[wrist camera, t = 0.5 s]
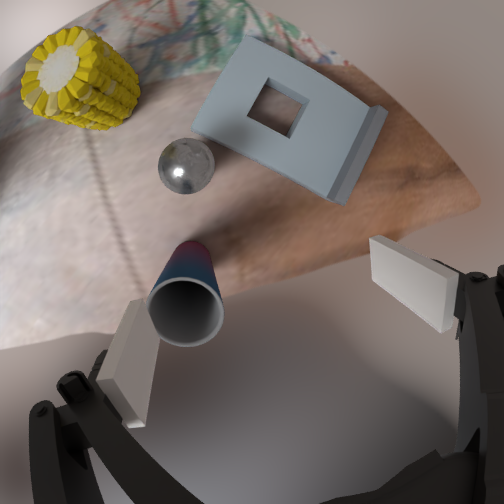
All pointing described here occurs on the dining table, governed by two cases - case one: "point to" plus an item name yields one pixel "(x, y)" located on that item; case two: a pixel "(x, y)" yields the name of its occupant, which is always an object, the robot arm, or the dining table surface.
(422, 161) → the dining table surface
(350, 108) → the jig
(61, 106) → the food
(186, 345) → the cup
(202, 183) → the silver metal cylinder
